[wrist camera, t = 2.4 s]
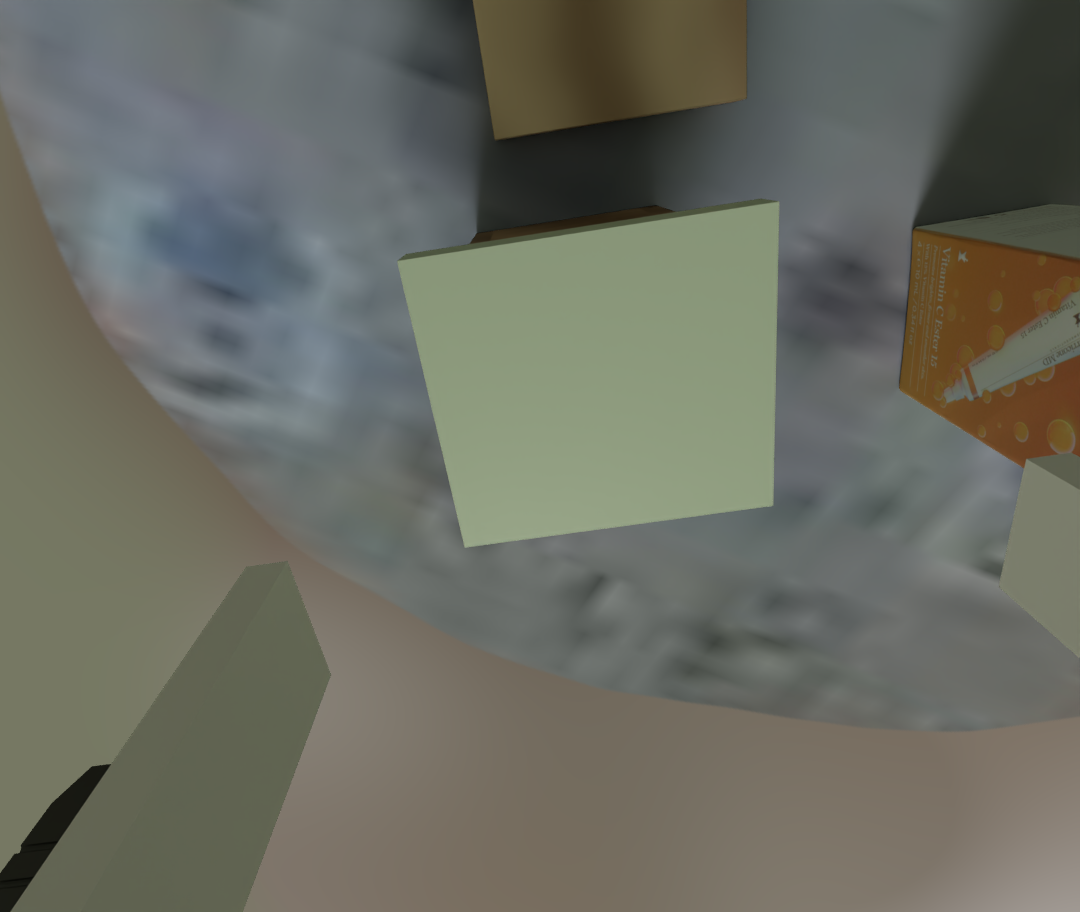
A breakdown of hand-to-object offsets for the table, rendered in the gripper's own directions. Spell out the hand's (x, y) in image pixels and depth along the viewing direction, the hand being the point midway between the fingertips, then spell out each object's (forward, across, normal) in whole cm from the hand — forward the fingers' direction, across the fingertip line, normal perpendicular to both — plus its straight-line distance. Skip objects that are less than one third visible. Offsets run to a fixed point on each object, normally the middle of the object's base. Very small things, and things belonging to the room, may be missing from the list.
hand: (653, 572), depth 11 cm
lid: (+11, 0, 0) cm, 11 cm away
